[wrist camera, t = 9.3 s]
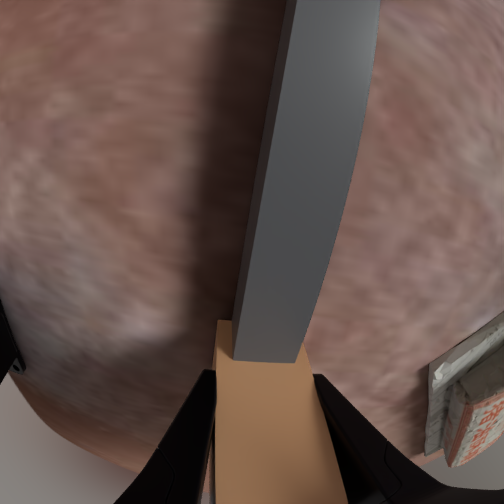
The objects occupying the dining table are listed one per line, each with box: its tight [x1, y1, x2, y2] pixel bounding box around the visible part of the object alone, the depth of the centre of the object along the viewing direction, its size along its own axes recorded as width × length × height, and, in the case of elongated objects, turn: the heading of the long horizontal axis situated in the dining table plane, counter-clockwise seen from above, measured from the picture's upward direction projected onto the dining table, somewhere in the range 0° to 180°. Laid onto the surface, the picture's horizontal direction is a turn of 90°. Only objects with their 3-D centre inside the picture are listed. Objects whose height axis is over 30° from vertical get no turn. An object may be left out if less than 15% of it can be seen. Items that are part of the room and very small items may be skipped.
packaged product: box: [424, 312, 504, 468], centre depth 14 cm, size 18×5×10 cm
